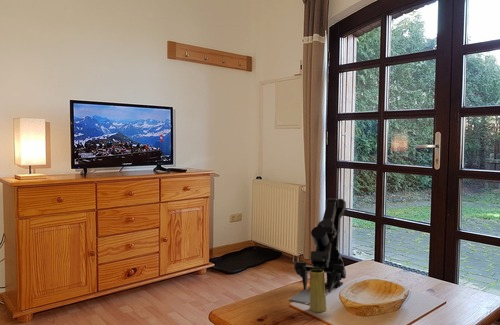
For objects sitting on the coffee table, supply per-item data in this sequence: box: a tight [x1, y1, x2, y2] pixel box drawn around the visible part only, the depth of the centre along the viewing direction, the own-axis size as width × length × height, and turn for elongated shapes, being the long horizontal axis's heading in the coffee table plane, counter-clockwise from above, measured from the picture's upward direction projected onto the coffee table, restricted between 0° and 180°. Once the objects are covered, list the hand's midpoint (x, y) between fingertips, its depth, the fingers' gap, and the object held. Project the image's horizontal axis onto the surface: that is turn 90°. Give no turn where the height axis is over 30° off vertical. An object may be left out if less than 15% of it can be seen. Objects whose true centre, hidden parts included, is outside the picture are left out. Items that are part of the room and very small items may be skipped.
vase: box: [309, 269, 328, 313], centre depth 145 cm, size 6×6×14 cm
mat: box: [289, 289, 310, 305], centre depth 158 cm, size 13×10×1 cm
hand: (316, 290), depth 144 cm, fingers open, 9 cm apart
